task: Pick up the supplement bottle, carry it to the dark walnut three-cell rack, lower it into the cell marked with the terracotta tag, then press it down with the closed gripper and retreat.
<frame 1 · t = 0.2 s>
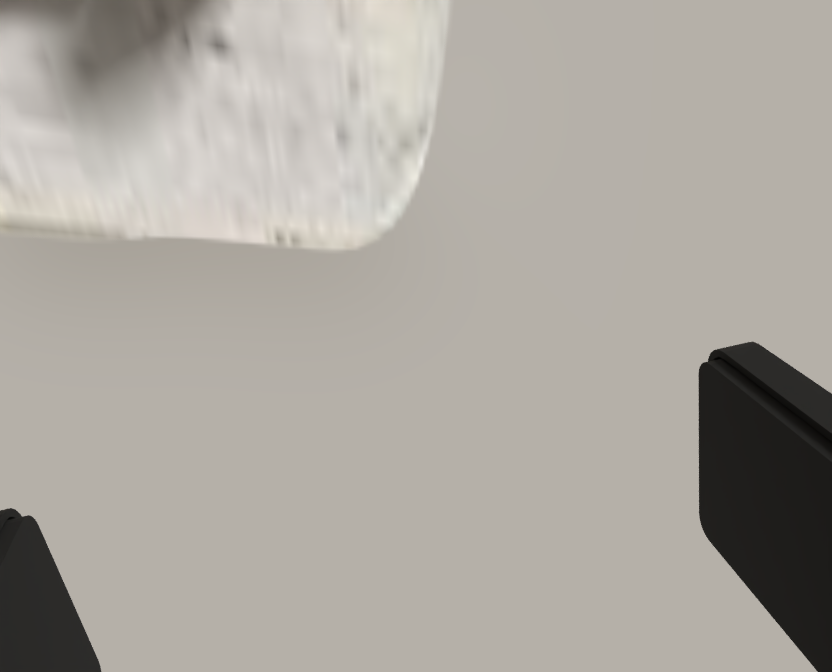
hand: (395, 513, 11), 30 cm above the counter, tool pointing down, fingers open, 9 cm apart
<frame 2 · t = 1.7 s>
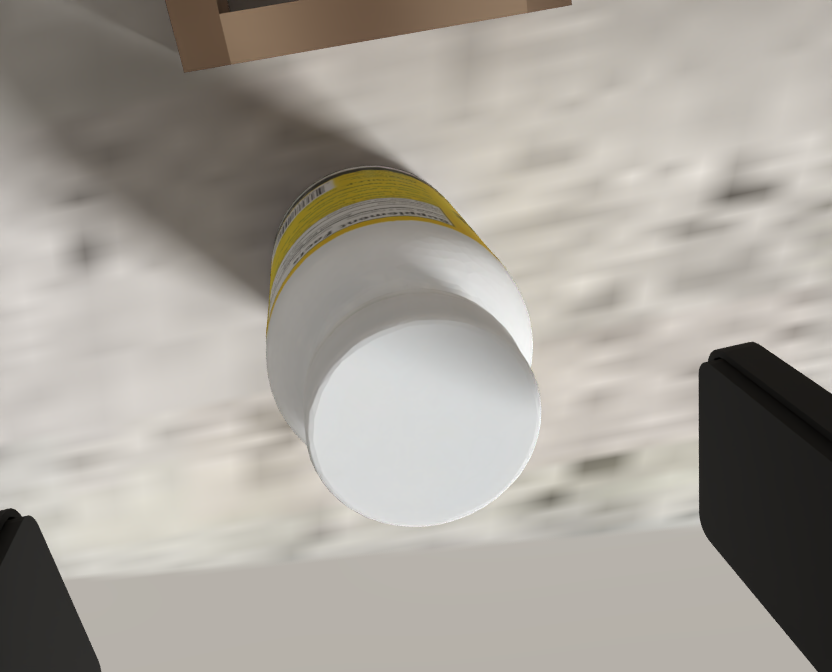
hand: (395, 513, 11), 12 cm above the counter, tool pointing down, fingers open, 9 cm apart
supplement bottle: (370, 255, 22), on the counter
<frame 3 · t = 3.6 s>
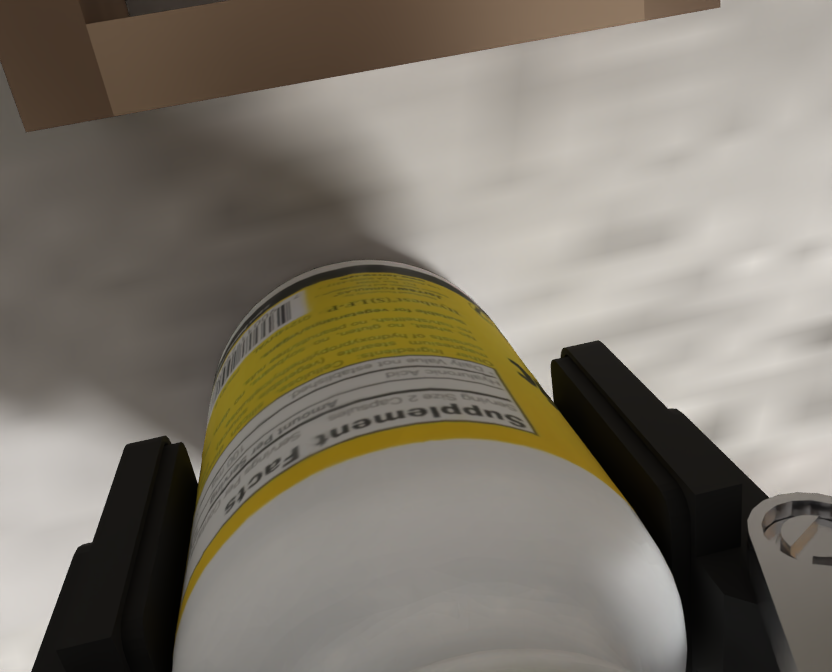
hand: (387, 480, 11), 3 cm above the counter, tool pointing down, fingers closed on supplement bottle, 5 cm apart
supplement bottle: (364, 385, 14), on the counter, touching gripper
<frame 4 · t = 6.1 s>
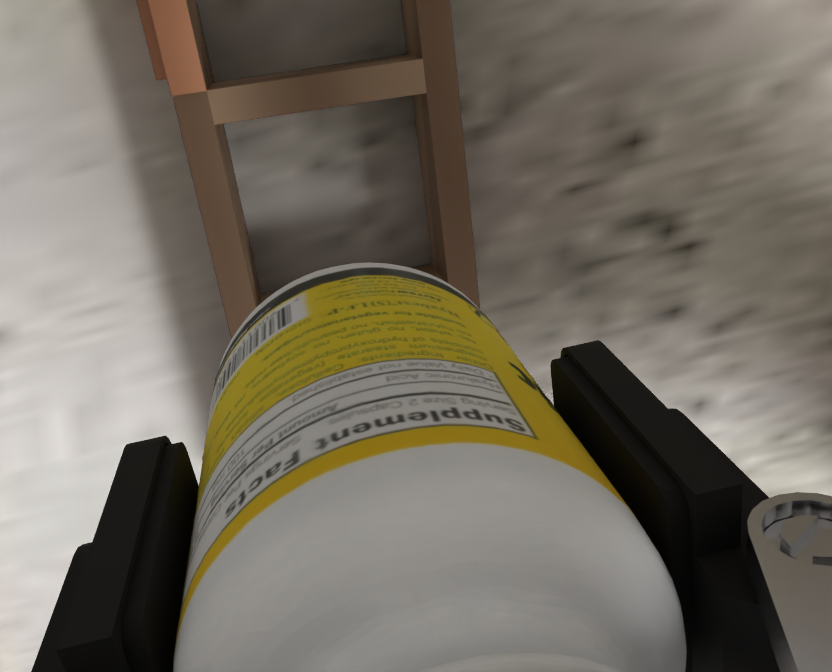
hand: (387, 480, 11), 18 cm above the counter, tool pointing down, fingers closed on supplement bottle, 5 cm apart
supplement bottle: (364, 388, 14), point 14 cm above the counter, touching gripper
rack: (333, 193, 27), on the counter
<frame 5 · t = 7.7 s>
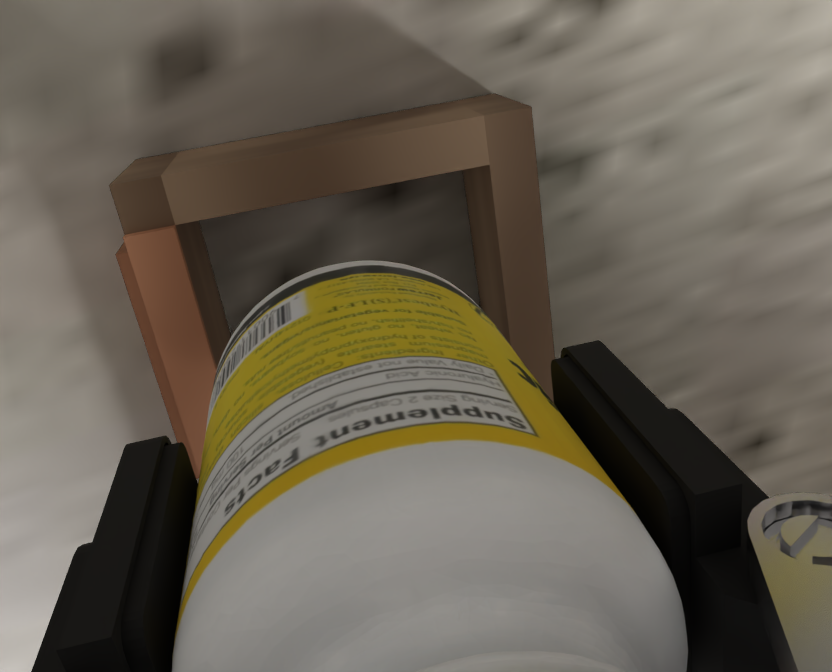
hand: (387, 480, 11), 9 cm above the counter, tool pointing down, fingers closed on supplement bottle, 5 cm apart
supplement bottle: (364, 386, 14), point 6 cm above the counter, touching gripper
rack: (400, 528, 23), on the counter
when the fingers open (4 cm above the counter, at t = 8.9 s): supplement bottle stays where it is, resting in rack.
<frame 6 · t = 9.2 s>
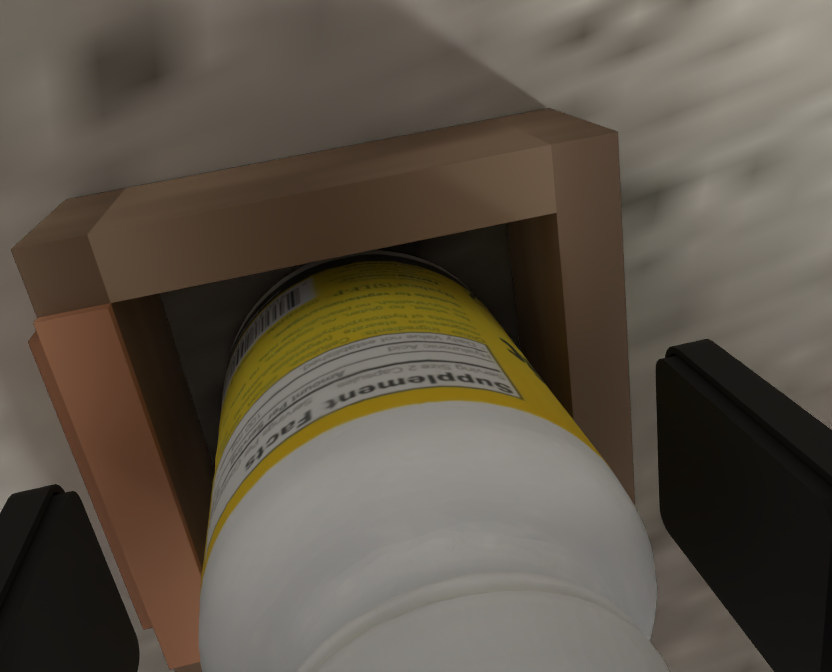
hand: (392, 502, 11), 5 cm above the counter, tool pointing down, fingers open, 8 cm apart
supplement bottle: (366, 369, 15), resting in rack
rack: (418, 649, 18), on the counter
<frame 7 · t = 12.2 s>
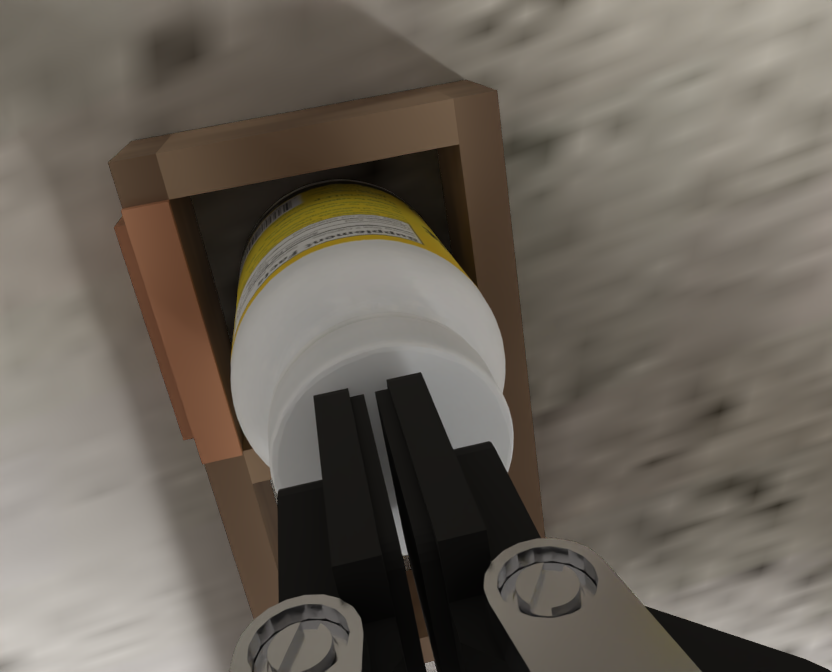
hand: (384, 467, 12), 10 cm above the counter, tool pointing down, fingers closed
supplement bottle: (340, 269, 21), resting in rack
rack: (382, 492, 24), on the counter
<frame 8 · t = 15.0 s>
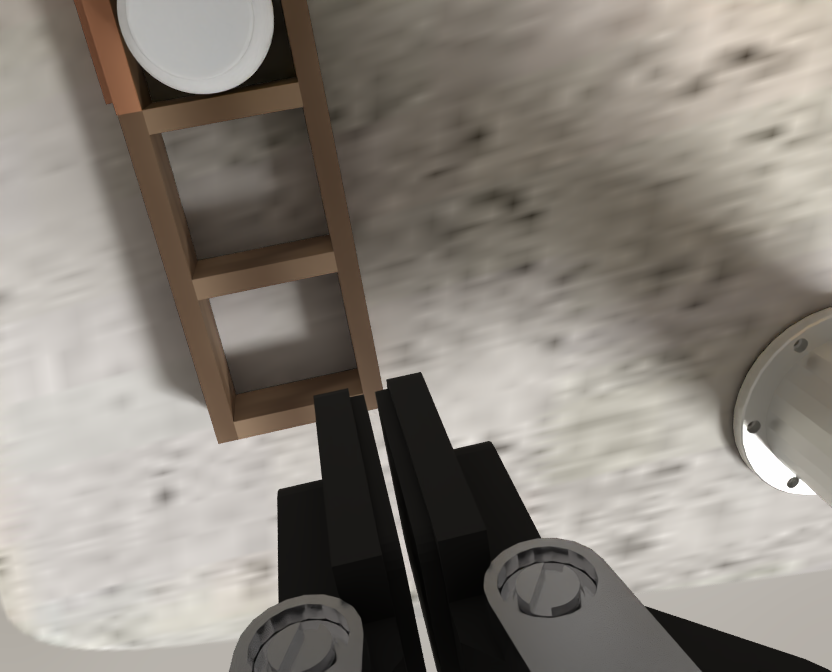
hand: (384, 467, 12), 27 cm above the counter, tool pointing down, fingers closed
supplement bottle: (210, 15, 34), resting in rack
rack: (247, 182, 36), on the counter
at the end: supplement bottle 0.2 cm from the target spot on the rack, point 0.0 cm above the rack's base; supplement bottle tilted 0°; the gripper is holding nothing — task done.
